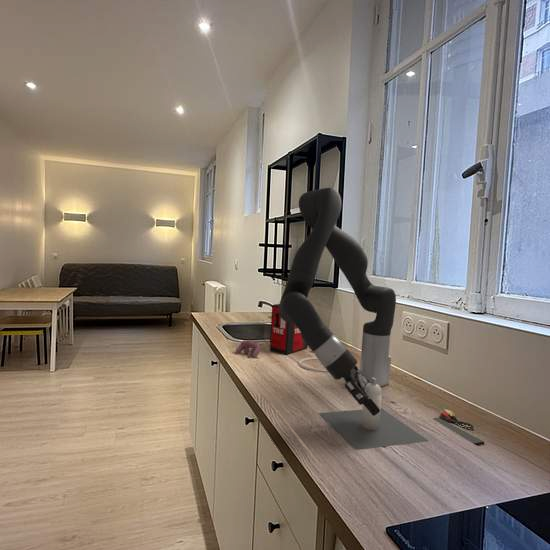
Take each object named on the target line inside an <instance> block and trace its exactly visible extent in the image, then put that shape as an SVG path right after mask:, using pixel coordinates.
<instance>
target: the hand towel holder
mask: <svg viewBox="0 0 550 550" xmlns="http://www.w3.org/2000/svg"><path fill="white" fill-rule="evenodd" d="M305 361H319V360H318V359H317V357H316V356H311V357H304V358H301V359H300V360H299V361H298V362H297V363H298V366H300V367H301V368H302V369H306V370H308V371H313V372H319V373H320V372H321V373H329V372H328V371H327V370H326V368H325V369H323V368H315V367H310V366H307V365H304V364H303V363H302V362H305Z"/></svg>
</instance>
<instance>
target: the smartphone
mask: <svg viewBox="0 0 550 550" xmlns="http://www.w3.org/2000/svg"><path fill="white" fill-rule="evenodd" d="M432 420H433V421H435V422H437V423H439V424H440V425H442V426H444V427H445V428H447V429H449V430H450V431H451V432H454V433H455V434H457V435H458V436H460V437H462V438H463V439H465V440H466V441H468V442H470V444H471V443H472V444H473V445H474V446H476V445H478V446H480V445H479V444H483V445H485V441H484V440H482V439H480V438H478V437H476V436H474V435H473V434H471V433H469V432H466V430H463V429H461V428H459V427H457V426H456V425H453V424H452V423H451V422H447V421H444V420H442V419H440V418H439V417H434V418H433V417H432Z"/></svg>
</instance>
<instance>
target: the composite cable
mask: <svg viewBox="0 0 550 550" xmlns="http://www.w3.org/2000/svg"><path fill="white" fill-rule="evenodd" d="M438 413H440V415H439V416H438V418H440V419H442V420H444V421H446V422H447V421H449V422H448V423H451V422H454V423H457V424H459V425H461V426H464V425H468V426H471V427H466V426H464V427H466V428H470V429H473V428H474V429H475V427H474V425H473V424H471V423H468V422H464V421H461V420H460V421H459V420H458V418H457V417H456V416H457V415H455V413H454V412H453V411H451V410H449V409H445V408H442V411H441V410H438ZM454 423H453V424H454ZM462 424H464V425H462ZM459 425H458V426H459ZM461 426H460V427H461Z"/></svg>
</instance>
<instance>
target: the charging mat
mask: <svg viewBox="0 0 550 550" xmlns="http://www.w3.org/2000/svg"><path fill="white" fill-rule="evenodd" d="M317 415H319V416H320V417H321V419H323V420H324V421H325V422H326V423H327V424H328V425H329V426H330V427H331V428H332V429H333V430H334V431H335V432H336V433H337V434H338V435H339V436H340V437H341V438H343V439H344V440H345V442H346V443H348V444H349V446H351V448H353V449H354V450H355V451H357V450H364V449H365V450H366V449H367V450H368V449H376V448H385V447H391V446H399V445H407V444H408V445H409V444H414V443H415V444H416V443H425V442H426V443H427V442H429V441H430V440H429V439H427V438H426V437H424V436H423V435H421V434H420V433H419V432H417V431H415V430H414V429H413V428H411V427H410V426H408V425H407V424H406V423H404V422H402V421H401V420H400V419H398V418H397V417H395V416H394V415H392V414H391V413H390V412H388V411H387V410H385V409H384V408H382V407H381V409H380V422H379V429H377V430H368V429H365V428H363V427H362V426H361V422H362V409H353V410H342V411H341V410H340V411H331V412H330V411H329V412H318V413H317Z"/></svg>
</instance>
